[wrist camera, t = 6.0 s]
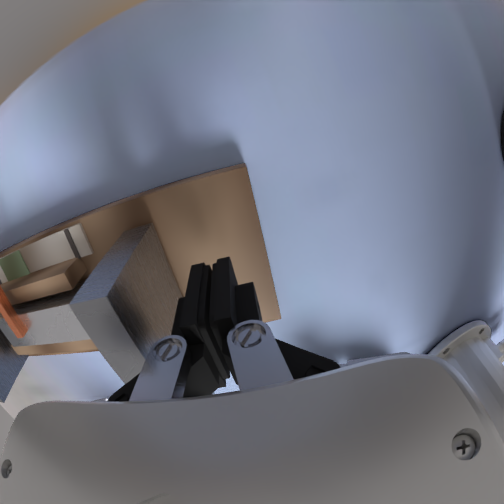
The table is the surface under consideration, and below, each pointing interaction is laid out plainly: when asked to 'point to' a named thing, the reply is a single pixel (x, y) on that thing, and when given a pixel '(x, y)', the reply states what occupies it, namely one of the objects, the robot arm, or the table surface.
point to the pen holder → (502, 134)
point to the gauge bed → (170, 236)
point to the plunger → (106, 305)
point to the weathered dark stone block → (8, 366)
